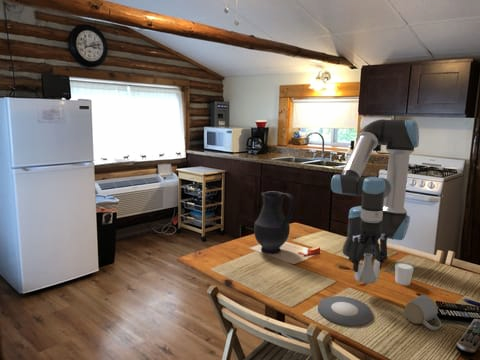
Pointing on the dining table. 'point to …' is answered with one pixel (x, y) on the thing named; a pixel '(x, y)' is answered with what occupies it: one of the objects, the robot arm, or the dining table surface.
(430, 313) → the ceramic mug
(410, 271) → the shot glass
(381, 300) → the dining table surface
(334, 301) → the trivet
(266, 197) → the pitcher
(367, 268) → the flask
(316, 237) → the dining table surface
